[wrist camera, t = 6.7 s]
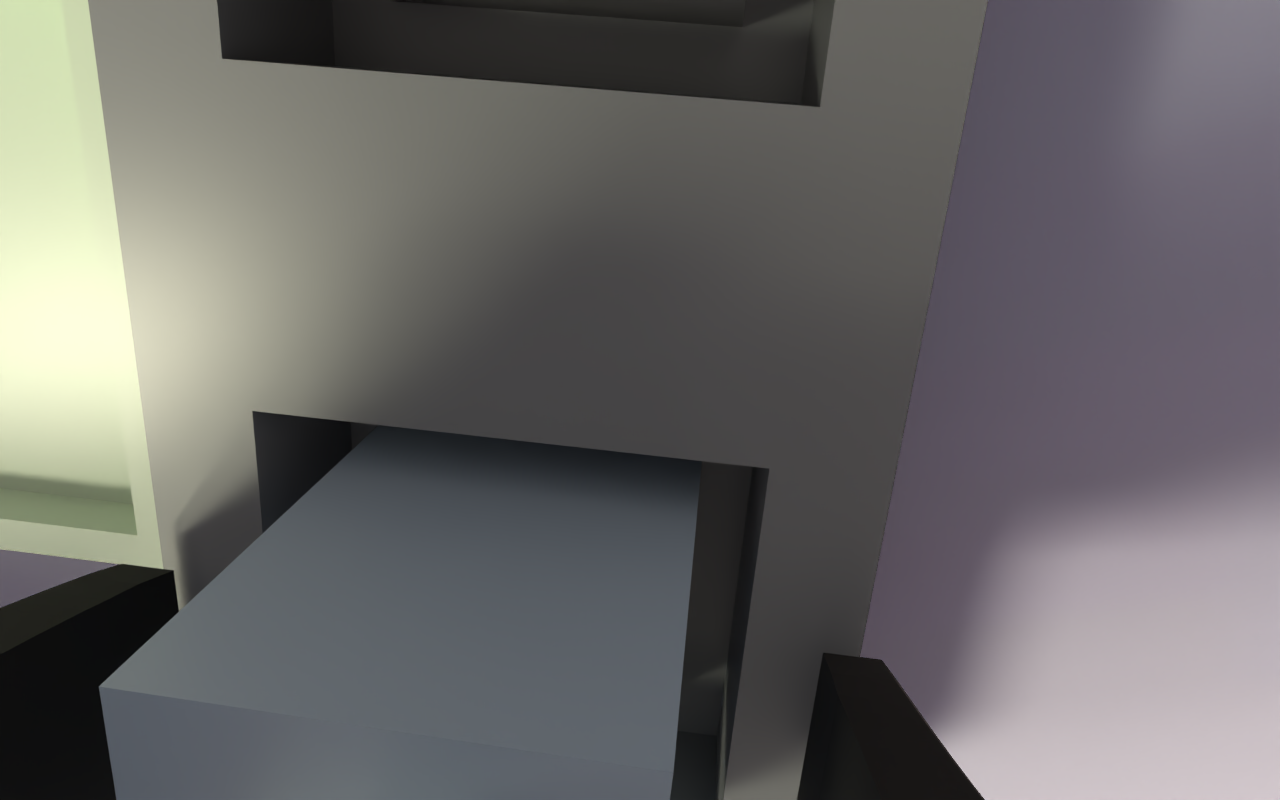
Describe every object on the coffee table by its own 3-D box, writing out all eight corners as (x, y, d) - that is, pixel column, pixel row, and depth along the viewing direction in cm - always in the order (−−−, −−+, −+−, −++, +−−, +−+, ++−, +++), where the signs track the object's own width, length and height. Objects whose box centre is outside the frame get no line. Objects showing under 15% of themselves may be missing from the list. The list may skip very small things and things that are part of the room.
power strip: (307, 716, 14) (203, 868, 12) (208, -669, 9) (-51, -1042, 6) (786, 782, 14) (800, 958, 11) (1033, -656, 8) (1195, -1065, 5)
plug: (409, 646, 13) (9, 1323, 6) (408, 397, 12) (-118, 887, 4) (673, 684, 13) (593, 1440, 6) (704, 434, 11) (652, 1018, 4)
